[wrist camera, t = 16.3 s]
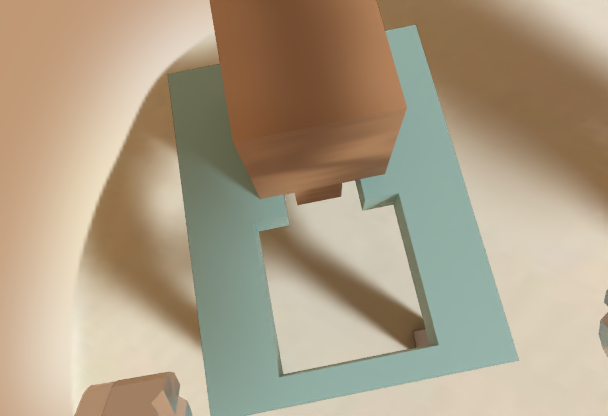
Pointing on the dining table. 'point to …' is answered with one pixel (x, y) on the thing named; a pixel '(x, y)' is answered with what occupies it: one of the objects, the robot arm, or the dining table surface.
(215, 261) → the keyhole shelf
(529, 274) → the dining table surface
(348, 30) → the walnut peg
